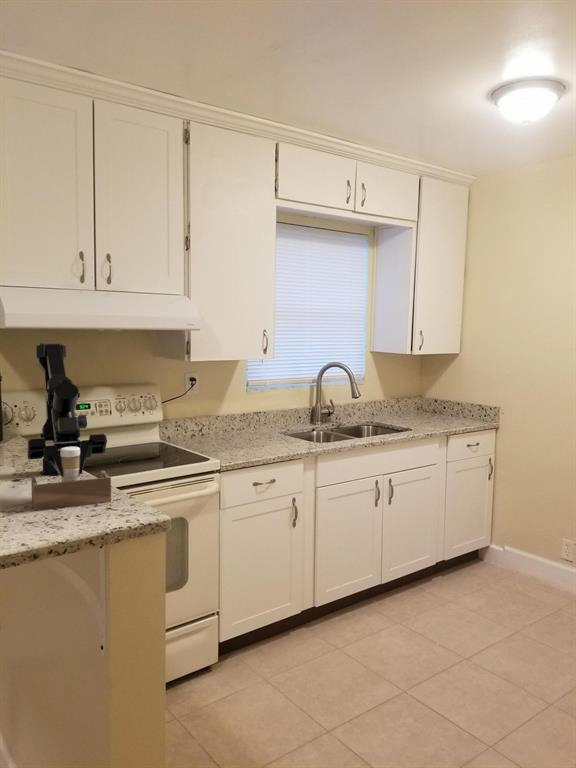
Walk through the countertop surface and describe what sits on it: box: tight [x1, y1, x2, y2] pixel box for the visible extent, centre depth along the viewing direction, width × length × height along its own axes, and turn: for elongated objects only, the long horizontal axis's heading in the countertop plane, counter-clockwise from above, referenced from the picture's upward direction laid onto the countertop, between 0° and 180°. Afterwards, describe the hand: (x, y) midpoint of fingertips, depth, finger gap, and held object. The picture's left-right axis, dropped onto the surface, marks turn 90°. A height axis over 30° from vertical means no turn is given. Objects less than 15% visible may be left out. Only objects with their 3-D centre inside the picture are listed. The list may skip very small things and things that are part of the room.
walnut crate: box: [30, 470, 112, 511], centre depth 148 cm, size 8×18×6 cm, turn 118°
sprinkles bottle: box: [60, 447, 81, 482], centre depth 148 cm, size 5×5×13 cm
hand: (71, 474), depth 147 cm, fingers closed on sprinkles bottle, 4 cm apart
